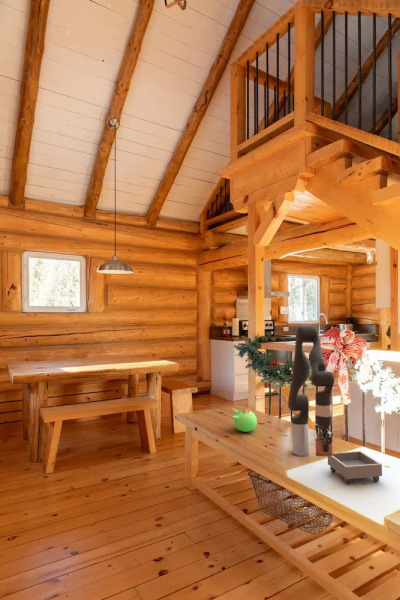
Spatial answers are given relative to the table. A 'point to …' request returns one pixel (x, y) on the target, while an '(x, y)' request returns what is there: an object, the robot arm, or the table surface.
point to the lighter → (320, 447)
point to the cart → (355, 465)
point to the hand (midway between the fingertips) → (324, 450)
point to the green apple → (244, 420)
